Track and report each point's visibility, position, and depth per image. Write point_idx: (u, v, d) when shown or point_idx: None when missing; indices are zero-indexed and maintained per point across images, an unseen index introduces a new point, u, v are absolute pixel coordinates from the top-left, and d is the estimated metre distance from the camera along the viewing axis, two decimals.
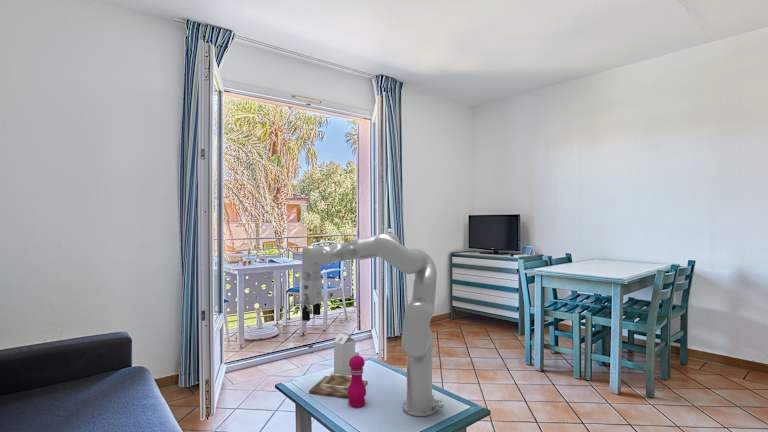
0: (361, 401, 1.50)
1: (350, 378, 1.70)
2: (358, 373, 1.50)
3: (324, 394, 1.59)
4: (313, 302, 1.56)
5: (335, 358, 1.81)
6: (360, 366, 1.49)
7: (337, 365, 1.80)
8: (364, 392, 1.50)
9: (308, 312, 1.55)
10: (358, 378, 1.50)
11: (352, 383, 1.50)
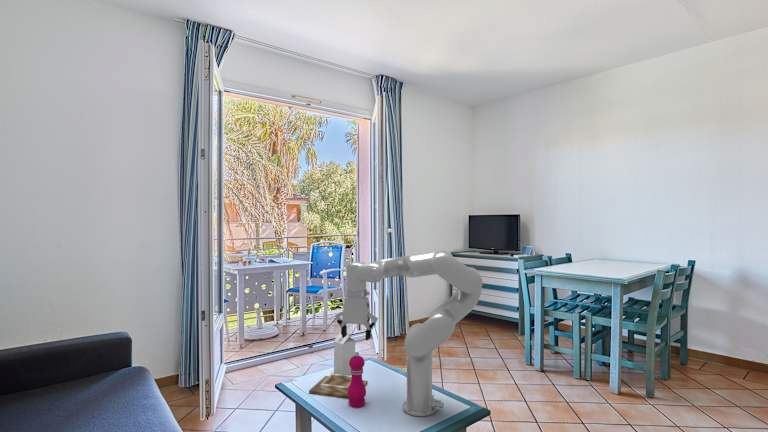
0: (361, 401, 1.50)
1: (350, 378, 1.70)
2: (358, 373, 1.50)
3: (324, 394, 1.59)
4: None
5: (335, 358, 1.81)
6: (360, 366, 1.49)
7: (337, 365, 1.80)
8: (364, 392, 1.50)
9: None
10: (358, 378, 1.50)
11: (352, 383, 1.50)
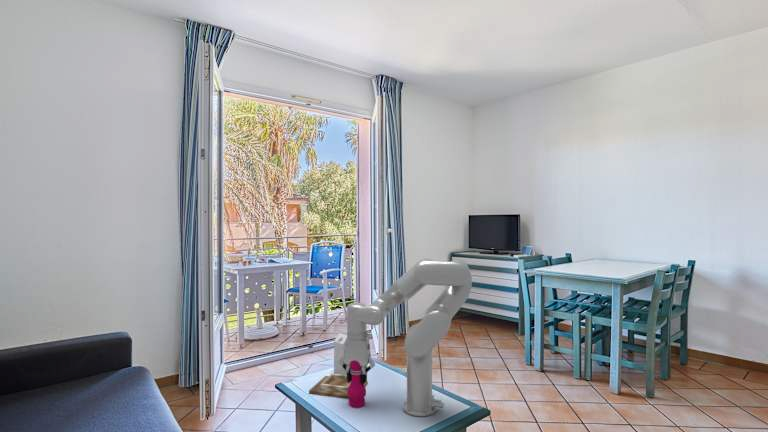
0: (361, 401, 1.50)
1: None
2: (358, 373, 1.50)
3: (324, 394, 1.59)
4: None
5: (335, 358, 1.81)
6: (360, 366, 1.49)
7: (337, 365, 1.80)
8: (364, 392, 1.50)
9: None
10: (358, 378, 1.50)
11: (352, 383, 1.50)
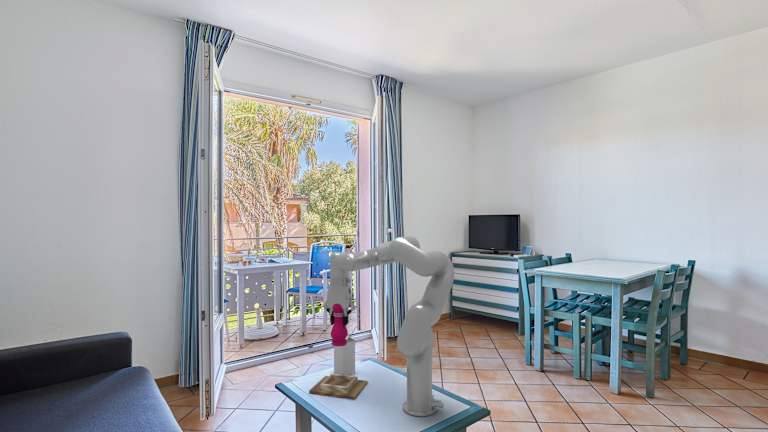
0: (343, 341, 1.64)
1: (350, 378, 1.70)
2: (340, 315, 1.64)
3: (324, 394, 1.59)
4: None
5: (335, 358, 1.81)
6: (342, 309, 1.63)
7: (337, 365, 1.80)
8: (346, 333, 1.64)
9: None
10: (340, 320, 1.64)
11: (335, 324, 1.64)
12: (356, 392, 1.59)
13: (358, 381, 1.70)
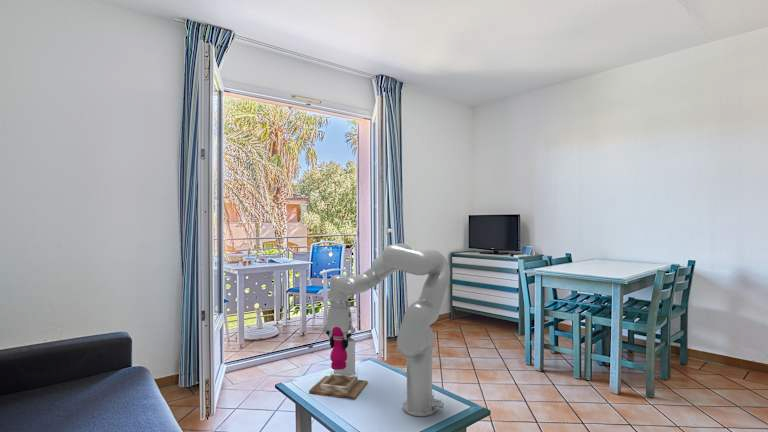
0: (342, 364, 1.64)
1: (350, 378, 1.70)
2: (340, 338, 1.64)
3: (324, 394, 1.59)
4: None
5: None
6: (342, 332, 1.63)
7: None
8: (345, 356, 1.64)
9: None
10: (340, 343, 1.64)
11: (334, 348, 1.64)
12: (356, 392, 1.59)
13: (358, 381, 1.70)
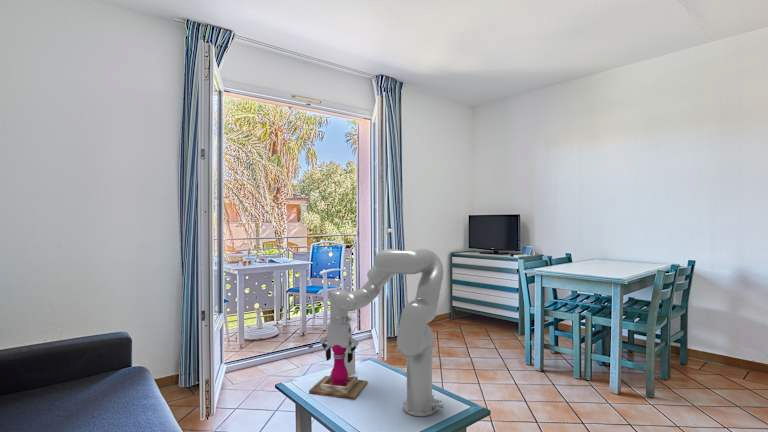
0: (343, 383, 1.63)
1: (350, 378, 1.70)
2: (340, 357, 1.63)
3: (324, 394, 1.59)
4: None
5: None
6: (342, 351, 1.63)
7: None
8: (346, 374, 1.64)
9: None
10: (340, 362, 1.64)
11: (335, 366, 1.64)
12: (356, 392, 1.59)
13: (358, 381, 1.70)
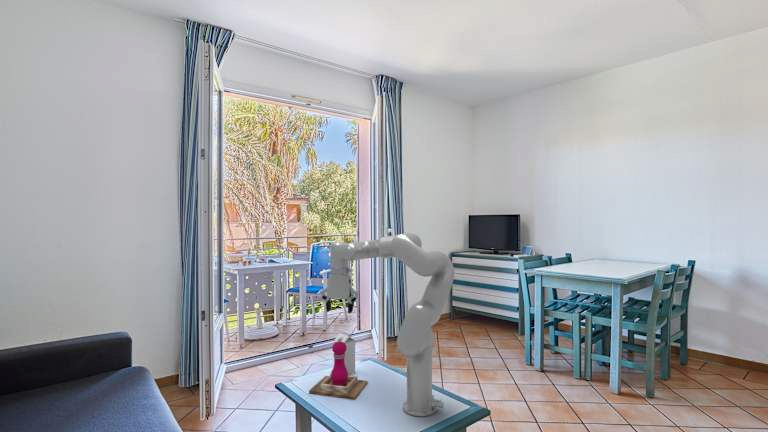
0: (343, 383, 1.63)
1: (350, 378, 1.70)
2: (340, 357, 1.63)
3: (324, 394, 1.59)
4: None
5: None
6: (342, 351, 1.63)
7: None
8: (346, 375, 1.64)
9: None
10: (340, 362, 1.64)
11: (335, 366, 1.64)
12: (356, 392, 1.59)
13: (358, 381, 1.70)
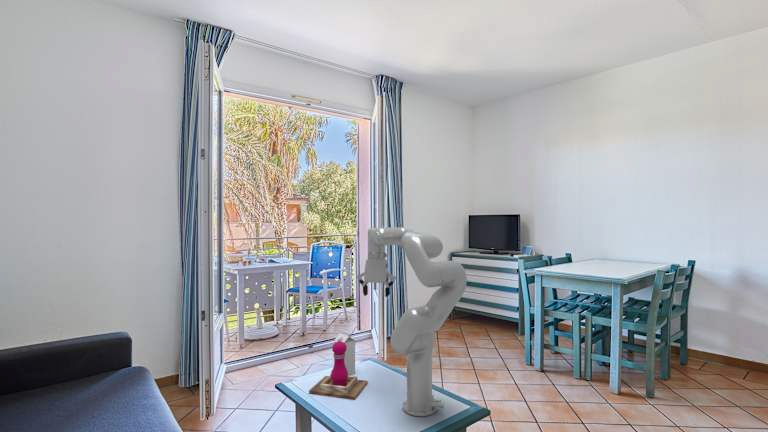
0: (343, 383, 1.63)
1: (350, 378, 1.70)
2: (340, 357, 1.63)
3: (324, 394, 1.59)
4: None
5: None
6: (342, 351, 1.63)
7: None
8: (346, 375, 1.64)
9: None
10: (340, 362, 1.64)
11: (335, 366, 1.64)
12: (356, 392, 1.59)
13: (358, 381, 1.70)
